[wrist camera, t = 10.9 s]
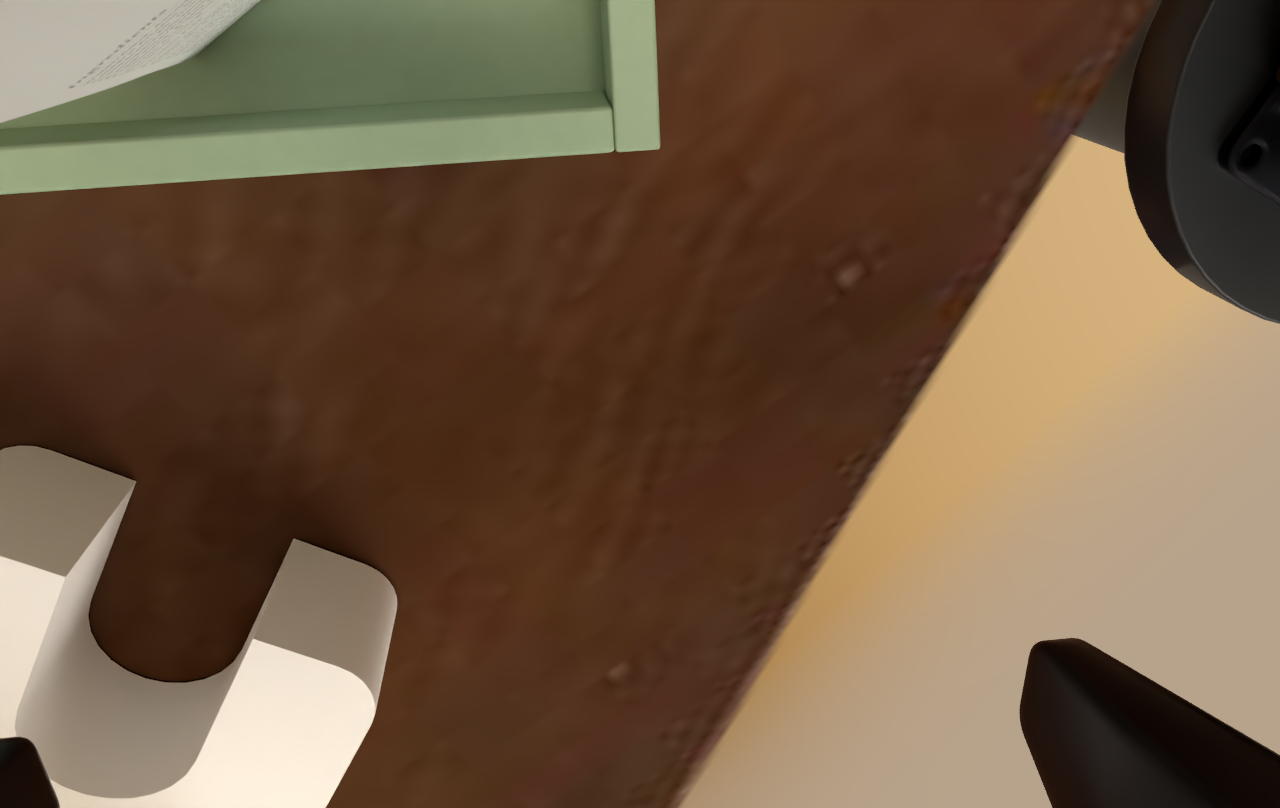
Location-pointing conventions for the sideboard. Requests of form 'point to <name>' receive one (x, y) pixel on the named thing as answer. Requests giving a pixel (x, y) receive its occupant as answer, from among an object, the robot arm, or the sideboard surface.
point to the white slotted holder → (177, 712)
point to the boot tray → (359, 95)
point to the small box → (98, 44)
